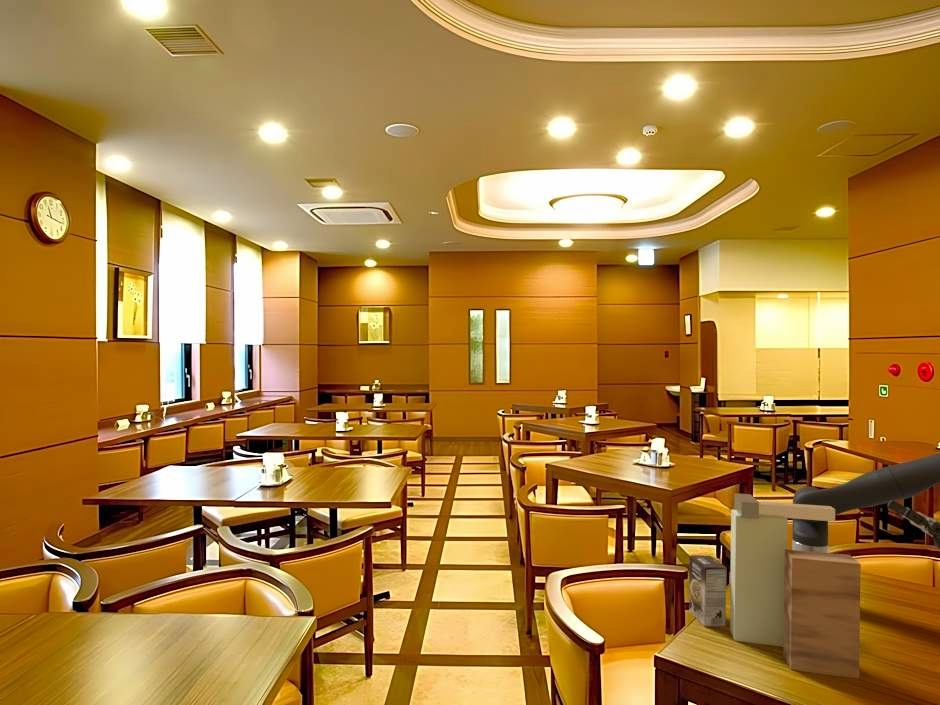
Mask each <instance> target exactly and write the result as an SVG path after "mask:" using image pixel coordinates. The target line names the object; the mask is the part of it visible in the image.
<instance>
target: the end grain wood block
mask: <svg viewBox="0 0 940 705" xmlns="http://www.w3.org/2000/svg"><path fill="white" fill-rule="evenodd" d="M733 495H734V496H733V499H734V502H733V510H736V511H737V512H738V514H739V515H740V516H741V518H754V519H759V516H768V517H781V518H787V519H793V518H795V519H808V520H821V521H828V522H836V515H835V509H834V508H832V507H831V506H819V505H804V504H793V503H788V502H787V503H786V502H774V501H773V502H772V501H760V500H759V501H758V500H757V499H756V498H755V497H754V496H753V495H752V494H749V493H735V492H734V494H733Z"/></svg>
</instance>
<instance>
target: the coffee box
mask: <svg viewBox="0 0 940 705" xmlns="http://www.w3.org/2000/svg"><path fill="white" fill-rule="evenodd" d="M727 571H728V570H727V566H725V565H724V564H723V563H721V562H720V561H719V560H716V558H714V557H713V556H711V555H701V554H699V555H698V554H697V555H695V554H694V555H689V572H688V573H689V574H688V575H689V579H688V580H689V585H688V587H689V589H688V590H689V592H688V594H689V596H688V600H689V601H688V604H689V605H688V609H689V610H688V612H689V614H691V615H692V616H693V618H695V619H697V621H698V622H699V623H700V624H701V625H702V626H703V627H726V616H727V615H726V612H727V609H726V608H727V606H726V605H727Z"/></svg>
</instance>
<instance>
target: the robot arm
mask: <svg viewBox="0 0 940 705" xmlns="http://www.w3.org/2000/svg"><path fill="white" fill-rule="evenodd" d="M939 483H940V452H937V453H934V454H932V455H929V456H925V457H921V458H916V459H913V460H909V461H905V462H902V463H898V464H893V465H889V466H885V467H882V468H878V469H874V470H871V471H868V472H866V473H864V474H861V475H859V476H857V477H855V478H853V479H850V480H849V481H847V482H845V483H842V484H839V485H835V486H832V487H828V488H822V489H819V488H817V487H814V486H809V485H808V486H803V487H800V488H798V489H797V490H796V491H795V492H794V493H793V497H792V498H793V499H792V504H804V505H819V506H831V507H832V508H834V509H835V516H838V515H841V514H844V513H847V512H850V511H854V510H858V509H864V508H870V507H874V506H880V505H884V504H887V505H886V506H887V508H888V509H889V510H891V511H893V512H895V513H897V514H898V515H899V516H900V517H901V518H904V519H907V520H908V521H909V523H910V524H911V525H913V526H915V527H917V528H919V530H921V531H922V532H924V533H926V535H929V536H930V537H932V538H933V544H934V545H935V547H936V549H938V550H940V521H939V520H937V519H934V518H933V517H930V516H927V515H925V514H924V513H923V512H922V513H921V512H920V511H914V510H912V509H911V508H909V507H907V506H904V505H902V504H900V503H898V501H901V500H905V499H910V498H913V497H915V496H917V495H920V494H921V493H923V492H925V491H927V490H928V489H931V488H932V487H933V486H936V485H937V484H939ZM791 528H792V529H791V530H792V544H791V546H792V549H791V550H798V551H809V552H821V553H829V521H821V520H808V519H795V518H792V527H791Z"/></svg>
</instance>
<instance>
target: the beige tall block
mask: <svg viewBox="0 0 940 705" xmlns="http://www.w3.org/2000/svg"><path fill="white" fill-rule="evenodd" d="M730 512H731V513H730V583H729V584H730V586H729V588H730V590H729V592H730V594H729V595H730V596H729V598H730V599H729V631H730V634H731V635H732V639H733V641H735V642H741V643H742V642H743V643H744V642H745V643H749V644H750V643H751V644H759V645H765V646H766V645H767V646H773V647H774V646H775V647H781V648H782V647H783V644H784V557H785V549H787V550H789V549H788V545H789V543H788V541H789V540H788V538H789V537H788V536H789V535H788V534H789V527H788V526H789V520H788V519H789V518H781V517H768V516H759V519H754V518H741V516H740V515H739V514H738V512H737V511H736V510H735V509H734V508H733V509H731V511H730Z"/></svg>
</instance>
